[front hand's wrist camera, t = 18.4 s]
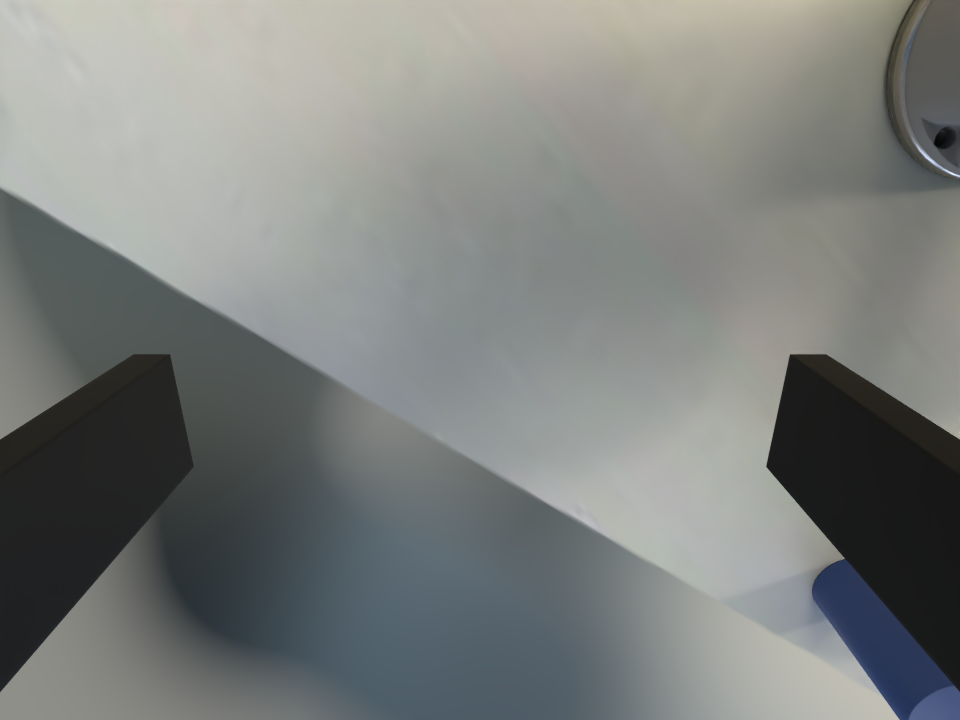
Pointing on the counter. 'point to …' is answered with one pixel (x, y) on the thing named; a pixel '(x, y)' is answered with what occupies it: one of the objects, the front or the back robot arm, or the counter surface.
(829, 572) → the can
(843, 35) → the counter surface
